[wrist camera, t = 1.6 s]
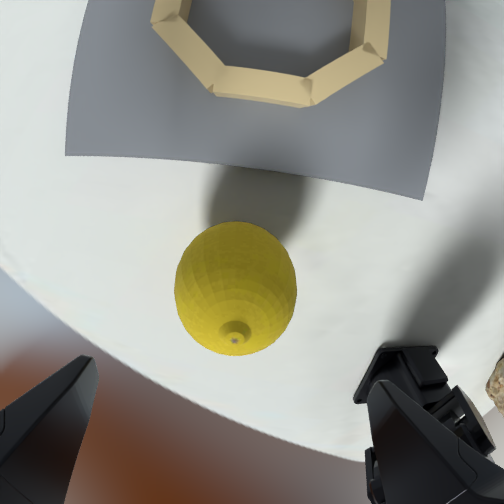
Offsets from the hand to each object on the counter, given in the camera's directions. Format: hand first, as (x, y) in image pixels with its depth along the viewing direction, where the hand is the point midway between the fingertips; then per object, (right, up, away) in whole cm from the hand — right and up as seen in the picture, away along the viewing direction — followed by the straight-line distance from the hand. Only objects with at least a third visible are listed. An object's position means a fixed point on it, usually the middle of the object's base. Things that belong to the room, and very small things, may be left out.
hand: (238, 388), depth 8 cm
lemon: (-1, +4, +9) cm, 10 cm away
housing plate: (+1, +16, +4) cm, 16 cm away
